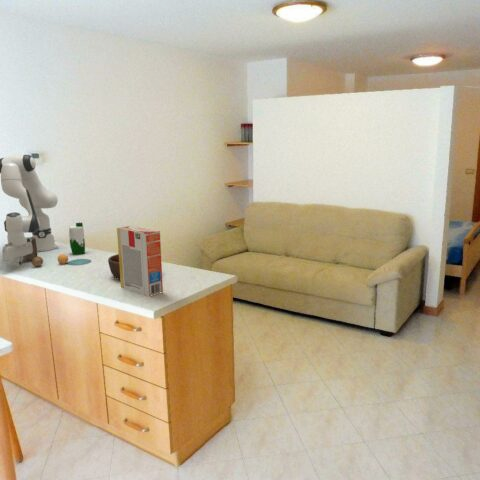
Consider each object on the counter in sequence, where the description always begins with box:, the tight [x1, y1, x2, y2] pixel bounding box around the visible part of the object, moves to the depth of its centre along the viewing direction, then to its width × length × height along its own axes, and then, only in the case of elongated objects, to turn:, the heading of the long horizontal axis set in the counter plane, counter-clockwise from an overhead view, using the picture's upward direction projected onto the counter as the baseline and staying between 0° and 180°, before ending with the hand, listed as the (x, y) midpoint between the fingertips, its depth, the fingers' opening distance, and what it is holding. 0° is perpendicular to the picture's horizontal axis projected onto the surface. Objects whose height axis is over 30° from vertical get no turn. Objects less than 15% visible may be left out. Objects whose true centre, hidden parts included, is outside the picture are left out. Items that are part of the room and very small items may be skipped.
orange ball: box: [57, 253, 69, 265], centre depth 272 cm, size 6×6×6 cm
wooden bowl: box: [107, 253, 120, 280], centre depth 247 cm, size 25×25×10 cm
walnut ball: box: [31, 255, 44, 268], centre depth 267 cm, size 6×6×6 cm
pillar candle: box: [22, 236, 39, 263], centre depth 281 cm, size 10×10×15 cm
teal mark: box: [66, 258, 92, 266], centre depth 276 cm, size 14×14×1 cm
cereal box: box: [116, 225, 164, 297], centre depth 220 cm, size 23×8×30 cm, turn 48°
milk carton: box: [68, 222, 86, 256], centre depth 296 cm, size 9×9×20 cm
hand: (19, 264), depth 264 cm, fingers closed
